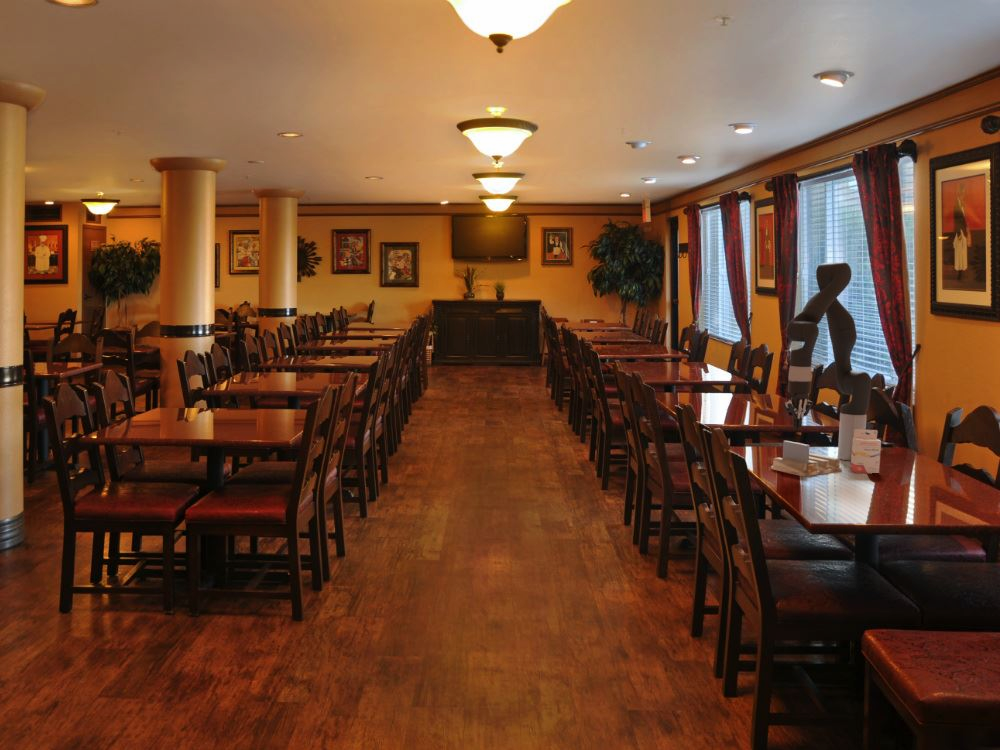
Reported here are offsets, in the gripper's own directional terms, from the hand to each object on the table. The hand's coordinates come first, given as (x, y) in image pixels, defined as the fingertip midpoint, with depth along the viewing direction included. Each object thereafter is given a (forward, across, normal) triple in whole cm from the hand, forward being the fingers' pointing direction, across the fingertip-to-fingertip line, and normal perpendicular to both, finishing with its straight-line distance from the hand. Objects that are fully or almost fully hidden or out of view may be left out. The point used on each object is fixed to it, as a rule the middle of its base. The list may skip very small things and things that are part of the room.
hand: (797, 428), depth 319 cm
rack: (+15, -6, 0) cm, 16 cm away
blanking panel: (+14, 0, 0) cm, 14 cm away
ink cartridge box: (+15, -22, +12) cm, 29 cm away
